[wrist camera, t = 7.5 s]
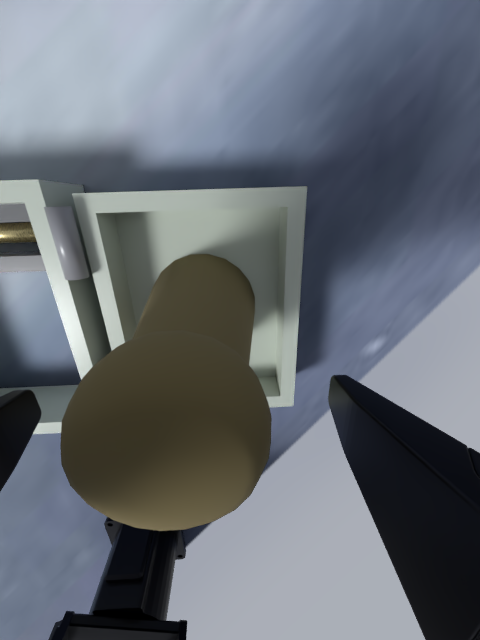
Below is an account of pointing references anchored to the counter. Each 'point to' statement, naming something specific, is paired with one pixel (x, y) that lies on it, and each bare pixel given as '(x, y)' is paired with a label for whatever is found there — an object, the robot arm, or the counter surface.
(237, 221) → the lid
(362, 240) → the counter surface
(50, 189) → the case
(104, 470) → the cork
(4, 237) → the rod
